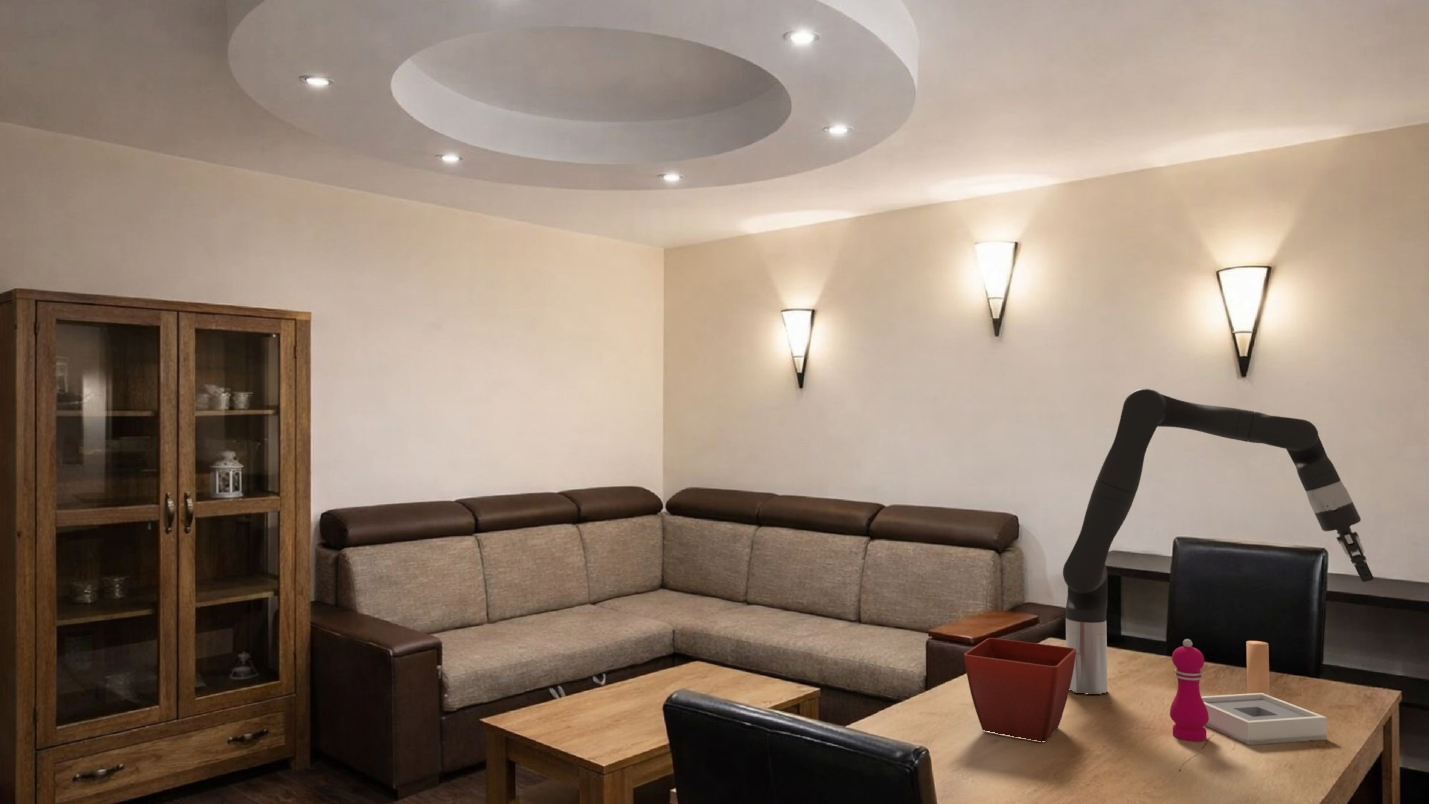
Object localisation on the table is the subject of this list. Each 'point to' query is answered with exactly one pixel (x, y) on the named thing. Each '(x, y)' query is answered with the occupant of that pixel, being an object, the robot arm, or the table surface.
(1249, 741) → the tray
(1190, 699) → the pepper mill
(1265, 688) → the peg
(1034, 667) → the plant pot
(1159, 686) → the table surface
